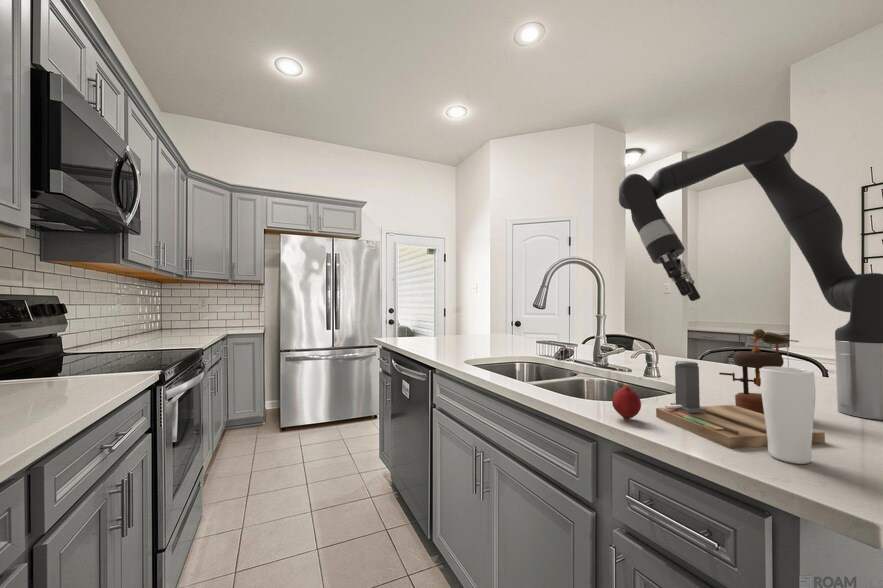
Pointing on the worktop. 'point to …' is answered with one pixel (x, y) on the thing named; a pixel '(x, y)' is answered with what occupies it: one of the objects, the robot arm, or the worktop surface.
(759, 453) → the worktop surface
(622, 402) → the onion
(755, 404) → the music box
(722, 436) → the board
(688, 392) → the peg slider
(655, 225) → the robot arm
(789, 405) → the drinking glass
